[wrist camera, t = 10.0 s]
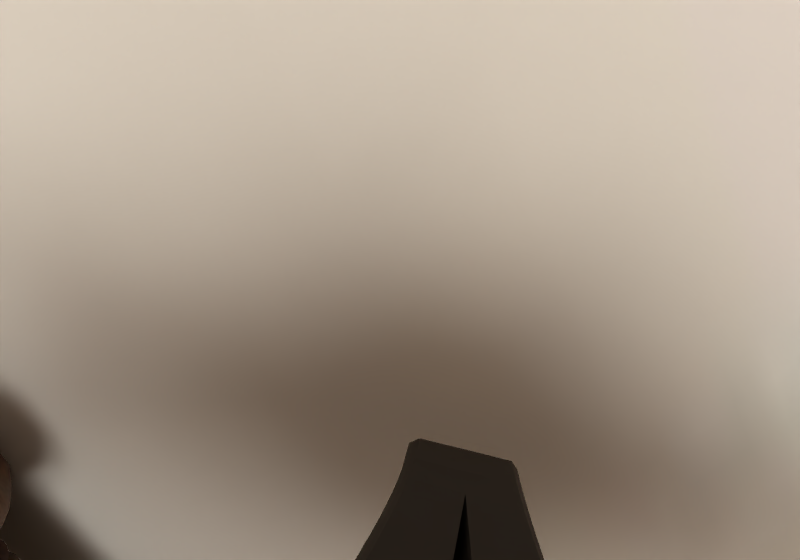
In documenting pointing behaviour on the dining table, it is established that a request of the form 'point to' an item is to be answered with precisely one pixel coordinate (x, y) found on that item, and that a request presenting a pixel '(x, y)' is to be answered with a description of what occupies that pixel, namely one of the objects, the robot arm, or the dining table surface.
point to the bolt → (5, 505)
